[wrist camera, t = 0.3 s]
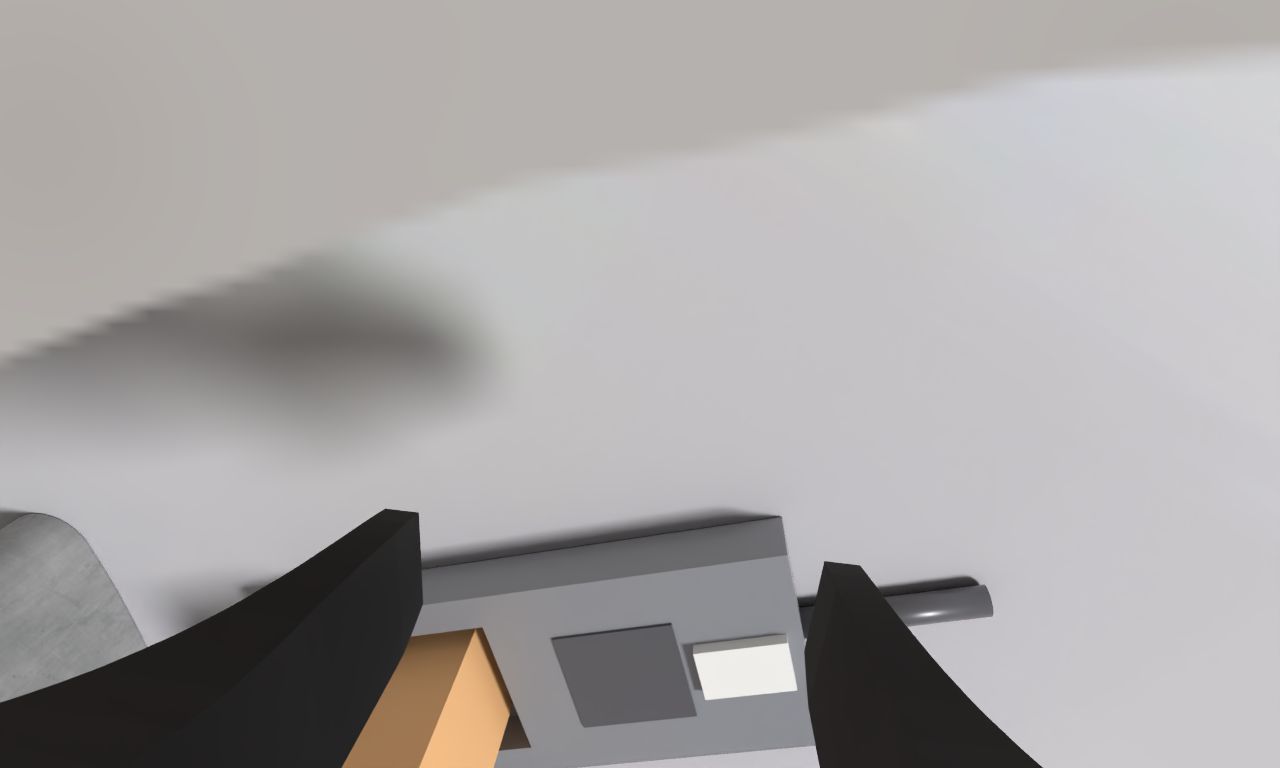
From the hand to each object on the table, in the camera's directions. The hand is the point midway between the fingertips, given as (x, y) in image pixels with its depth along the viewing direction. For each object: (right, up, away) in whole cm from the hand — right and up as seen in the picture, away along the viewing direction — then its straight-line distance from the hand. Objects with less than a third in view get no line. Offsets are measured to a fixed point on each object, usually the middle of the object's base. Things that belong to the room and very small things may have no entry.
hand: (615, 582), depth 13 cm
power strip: (0, -5, +13) cm, 14 cm away
